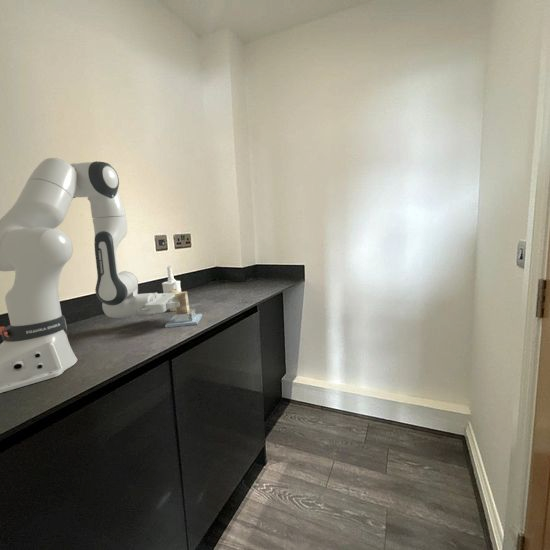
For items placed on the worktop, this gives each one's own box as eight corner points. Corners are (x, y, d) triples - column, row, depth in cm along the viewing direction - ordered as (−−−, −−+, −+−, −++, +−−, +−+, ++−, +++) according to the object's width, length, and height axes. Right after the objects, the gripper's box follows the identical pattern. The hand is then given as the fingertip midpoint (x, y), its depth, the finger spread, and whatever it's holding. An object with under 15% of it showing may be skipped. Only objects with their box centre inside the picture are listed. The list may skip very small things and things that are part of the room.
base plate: (173, 318, 124) (173, 316, 124) (202, 315, 125) (201, 313, 124) (165, 327, 112) (165, 325, 112) (196, 324, 113) (196, 322, 113)
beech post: (178, 321, 116) (174, 294, 114) (180, 318, 120) (177, 292, 118) (188, 320, 116) (184, 293, 115) (190, 317, 120) (187, 291, 119)
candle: (177, 311, 136) (175, 290, 135) (167, 311, 137) (164, 290, 136) (183, 308, 141) (181, 288, 140) (173, 308, 142) (171, 288, 141)
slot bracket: (179, 317, 122) (178, 310, 121) (195, 315, 122) (194, 308, 122) (174, 322, 114) (174, 315, 114) (192, 320, 115) (191, 313, 114)
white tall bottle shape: (161, 304, 153) (156, 267, 151) (177, 300, 160) (173, 264, 157) (170, 307, 146) (165, 267, 143) (187, 302, 152) (182, 265, 150)
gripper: (136, 302, 105) (175, 299, 106) (154, 291, 126) (187, 288, 126) (138, 319, 106) (177, 315, 107) (156, 305, 126) (189, 302, 127)
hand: (182, 301), depth 117 cm, fingers open, 8 cm apart
